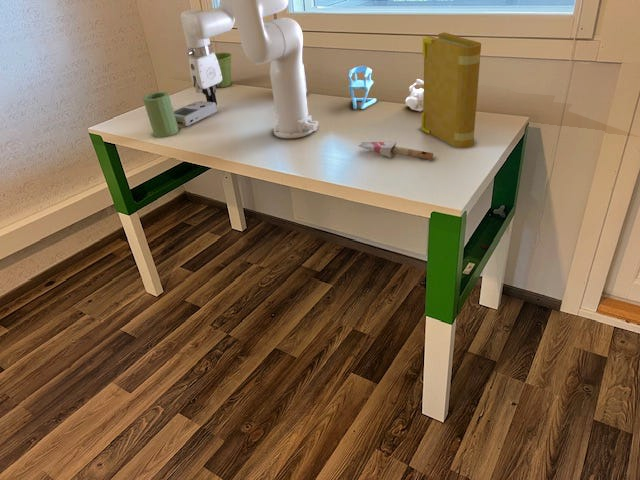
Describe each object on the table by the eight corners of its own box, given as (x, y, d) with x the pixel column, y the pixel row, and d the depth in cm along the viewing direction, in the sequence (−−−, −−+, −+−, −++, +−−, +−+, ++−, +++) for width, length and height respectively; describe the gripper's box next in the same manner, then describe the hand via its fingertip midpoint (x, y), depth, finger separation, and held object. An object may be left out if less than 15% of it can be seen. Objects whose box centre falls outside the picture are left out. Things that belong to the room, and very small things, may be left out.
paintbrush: (363, 136, 132) (435, 148, 123) (363, 145, 134) (434, 158, 125) (357, 141, 129) (429, 154, 121) (357, 151, 131) (428, 164, 122)
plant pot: (223, 91, 190) (217, 61, 183) (201, 88, 195) (195, 59, 189) (243, 81, 197) (238, 53, 191) (221, 79, 203) (215, 51, 197)
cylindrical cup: (183, 129, 159) (173, 93, 153) (164, 138, 154) (153, 101, 148) (168, 126, 163) (157, 90, 157) (149, 135, 158) (137, 98, 152)
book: (421, 129, 139) (422, 37, 125) (441, 123, 141) (444, 32, 127) (457, 150, 126) (463, 49, 112) (479, 143, 128) (487, 43, 114)
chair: (346, 109, 159) (343, 71, 152) (354, 100, 165) (352, 64, 159) (369, 110, 157) (367, 72, 150) (376, 101, 163) (375, 64, 156)
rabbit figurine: (444, 107, 151) (446, 76, 146) (434, 116, 147) (435, 83, 141) (410, 103, 158) (410, 72, 152) (398, 111, 153) (398, 80, 148)
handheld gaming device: (218, 112, 170) (215, 101, 167) (187, 128, 160) (183, 116, 158) (200, 110, 174) (197, 99, 172) (169, 125, 165) (165, 114, 162)
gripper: (191, 58, 155) (204, 113, 165) (224, 45, 164) (234, 99, 175) (175, 56, 159) (189, 110, 169) (208, 44, 168) (220, 96, 179)
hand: (212, 104), depth 172 cm, fingers closed
